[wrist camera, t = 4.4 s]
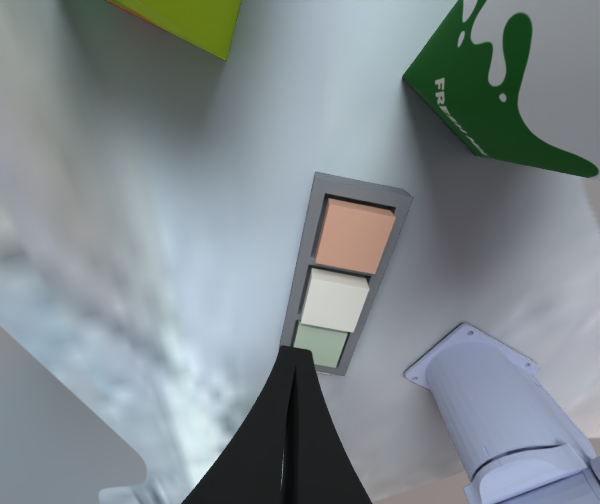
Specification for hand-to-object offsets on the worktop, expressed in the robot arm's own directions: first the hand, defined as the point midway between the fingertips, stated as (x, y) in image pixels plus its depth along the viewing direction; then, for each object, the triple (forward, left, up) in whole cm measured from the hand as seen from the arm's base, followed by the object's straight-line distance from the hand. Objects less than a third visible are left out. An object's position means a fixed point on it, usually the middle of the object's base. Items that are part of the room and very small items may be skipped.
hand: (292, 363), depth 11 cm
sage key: (-5, +6, -9) cm, 12 cm away
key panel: (-3, +1, -10) cm, 11 cm away
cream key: (-3, +1, -8) cm, 9 cm away
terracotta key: (-1, -4, -8) cm, 9 cm away
